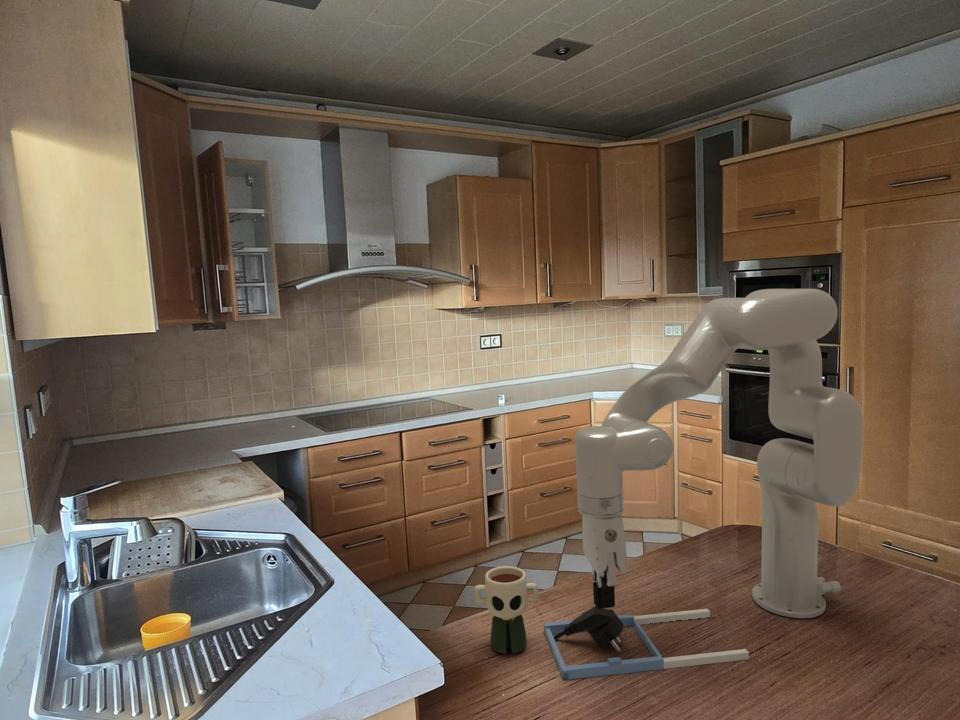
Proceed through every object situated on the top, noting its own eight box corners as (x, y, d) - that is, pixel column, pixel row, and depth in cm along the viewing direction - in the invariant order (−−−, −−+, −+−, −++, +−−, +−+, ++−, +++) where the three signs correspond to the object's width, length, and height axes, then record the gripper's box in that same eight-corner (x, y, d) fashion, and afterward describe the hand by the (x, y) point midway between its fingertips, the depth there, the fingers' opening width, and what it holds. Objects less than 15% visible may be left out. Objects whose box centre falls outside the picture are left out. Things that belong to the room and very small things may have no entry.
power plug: (552, 626, 111) (607, 594, 108) (578, 661, 111) (633, 630, 107) (548, 644, 106) (605, 611, 102) (574, 680, 105) (633, 649, 102)
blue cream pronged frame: (707, 614, 114) (707, 603, 114) (748, 659, 101) (748, 646, 100) (544, 631, 111) (543, 620, 111) (563, 680, 97) (563, 667, 97)
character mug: (476, 659, 103) (473, 584, 102) (478, 636, 110) (474, 566, 109) (541, 657, 103) (538, 582, 102) (539, 634, 110) (535, 564, 109)
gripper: (639, 515, 95) (642, 627, 97) (607, 485, 110) (611, 582, 112) (591, 520, 94) (596, 632, 97) (566, 489, 109) (571, 587, 111)
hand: (604, 605), depth 104 cm, fingers closed
